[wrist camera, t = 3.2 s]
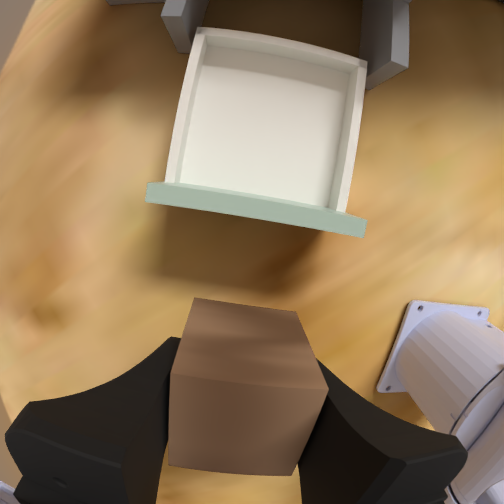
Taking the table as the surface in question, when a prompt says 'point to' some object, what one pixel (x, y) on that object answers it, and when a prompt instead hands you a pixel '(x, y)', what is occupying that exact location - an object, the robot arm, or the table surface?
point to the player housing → (371, 39)
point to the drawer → (266, 131)
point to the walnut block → (242, 390)
